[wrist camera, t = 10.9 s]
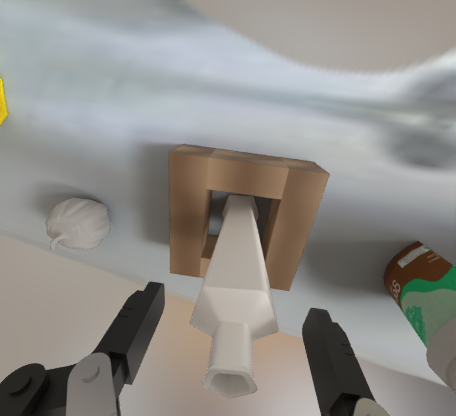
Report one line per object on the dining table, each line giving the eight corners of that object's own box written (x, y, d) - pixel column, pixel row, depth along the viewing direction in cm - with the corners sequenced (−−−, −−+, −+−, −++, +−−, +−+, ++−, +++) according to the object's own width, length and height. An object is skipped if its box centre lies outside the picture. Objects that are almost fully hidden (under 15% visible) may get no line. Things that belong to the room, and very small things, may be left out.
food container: (353, 258, 23) (424, 355, 14) (413, 230, 21) (541, 323, 12) (395, 320, 26) (472, 430, 17) (449, 302, 24) (568, 415, 15)
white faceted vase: (211, 196, 21) (147, 354, 7) (253, 185, 20) (267, 341, 6) (225, 233, 23) (194, 414, 9) (264, 224, 22) (293, 411, 8)
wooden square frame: (313, 161, 19) (329, 174, 15) (282, 263, 24) (289, 291, 20) (183, 144, 19) (168, 152, 15) (181, 248, 24) (170, 273, 20)
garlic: (90, 240, 25) (54, 270, 20) (59, 202, 23) (10, 226, 18) (130, 225, 23) (100, 254, 19) (100, 183, 21) (59, 203, 17)
